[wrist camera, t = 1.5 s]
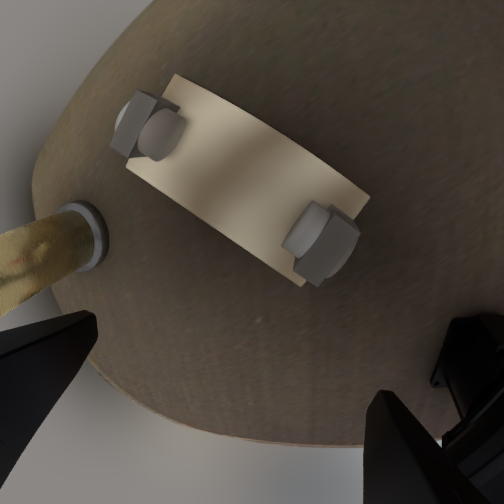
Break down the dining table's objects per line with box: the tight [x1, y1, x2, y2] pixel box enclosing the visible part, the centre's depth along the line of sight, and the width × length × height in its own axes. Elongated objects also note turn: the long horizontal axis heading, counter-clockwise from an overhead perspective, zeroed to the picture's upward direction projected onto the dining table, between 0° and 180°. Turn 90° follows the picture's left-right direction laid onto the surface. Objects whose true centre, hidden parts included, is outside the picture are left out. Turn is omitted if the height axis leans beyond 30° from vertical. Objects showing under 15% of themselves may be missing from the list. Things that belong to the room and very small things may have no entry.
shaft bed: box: [109, 74, 370, 288], centre depth 16 cm, size 15×7×4 cm, turn 57°
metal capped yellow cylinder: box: [0, 201, 109, 318], centre depth 16 cm, size 6×6×13 cm
